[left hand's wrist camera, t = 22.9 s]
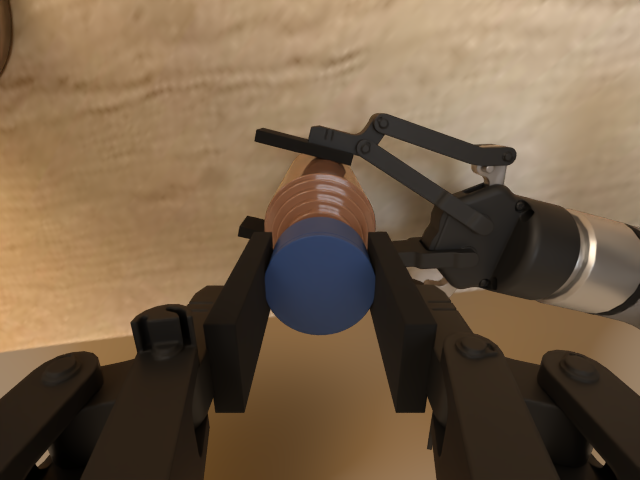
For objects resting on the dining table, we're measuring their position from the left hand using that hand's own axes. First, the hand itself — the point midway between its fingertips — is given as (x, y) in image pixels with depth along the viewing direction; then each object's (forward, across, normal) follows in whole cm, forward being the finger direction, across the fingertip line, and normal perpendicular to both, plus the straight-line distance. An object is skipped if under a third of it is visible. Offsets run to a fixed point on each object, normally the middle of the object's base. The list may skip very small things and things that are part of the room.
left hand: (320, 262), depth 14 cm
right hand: (+11, -5, +1) cm, 12 cm away
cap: (-2, 0, 0) cm, 2 cm away
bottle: (+18, 0, 0) cm, 18 cm away
